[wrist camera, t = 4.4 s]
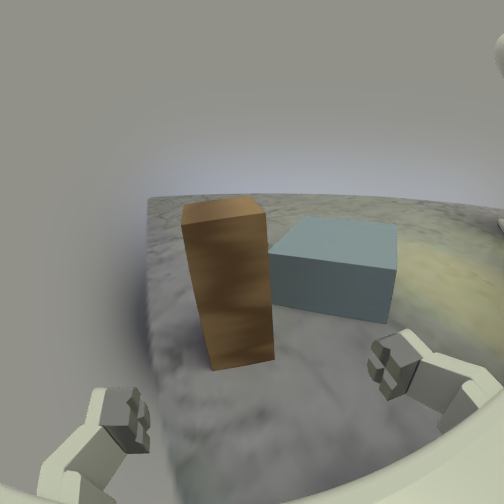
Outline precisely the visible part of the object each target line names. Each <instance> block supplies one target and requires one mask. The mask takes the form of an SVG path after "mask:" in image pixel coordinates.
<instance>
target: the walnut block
mask: <svg viewBox="0 0 504 504" xmlns="http://www.w3.org/2000/svg"><path fill="white" fill-rule="evenodd" d="M181 228H182V233H183V239H184V244H185V250H186V255H187V260H188V265H189V270H190V275H191V280H192V285H193V290H194V294H195V299H196V303H197V308H198V312H199V317H200V321H201V325H202V330H203V334H204V338H205V342H206V346H207V350H208V354H209V358H210V362H211V366H212V369H213V371H215V370H221V369H227V368H233V367H239V366H244V365H250V364H255V363H260V362H265V361H269V360H274V359H275V357H274V339H273V321H272V304H271V287H270V272H269V256H268V242H267V227H266V214H265V212H264V211H263V209H262V208H261V207H260V206H259V205H258V204H257V203H256V202H255V201H254V200H253V198H252V197H251V196H242V197H235V198H227V199H220V200H213V201H206V202H200V203H193V204H187V205H184V207H183V214H182V222H181Z"/></svg>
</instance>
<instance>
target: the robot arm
mask: <svg viewBox="0 0 504 504" xmlns="http://www.w3.org/2000/svg"><path fill="white" fill-rule="evenodd" d="M495 60H496V63H497V66H498V69H499V71H500V73H501V75H502V76H503V78H504V35H502V36H500V37H499V39H498V40H497V42H496V45H495ZM498 224H499V226H500V228H501V229H502V231H503V233H504V219H499V220H498ZM371 350H372V351H373V353H372V354H371V355H370V357H369V358H368V363H367V366H368V372H369V374H370V377H371V378H372V380H373V381H375V382H377V383H380V385H379V390H380V391H381V393H382V394H383V395H384V397H385V398H386V400H387V401H389V400H392V399H394V398H397V397H399V396H401V395H403V394H406V395H408V396H410V397H411V398H413V399H415V400H417V401H419V402H421V403H423V404H425V405H426V406H428V407H430V408H432V409H434V410H436V411H438V412H440V413H442V414H444V415H443V416H442V418H441V419H440V421H439V422H438V425H437V427H438V428H439V430H440V431H441V433H442V434H443V435H441V436H440V437H438V438H437V439H435V440H433V441H432V442H430V443H429V444H427V445H425V446H424V447H422V448H420V449H418V450H417V451H415V452H413V453H411V454H409V455H408V456H406V457H404V458H402V459H400V460H398V461H396V462H394V463H392V464H390V465H388V466H386V467H384V468H382V469H379V470H377V471H375V472H373V473H371V474H368V475H366V476H364V477H361V478H359V479H356V480H354V481H351V482H349V483H346V484H343V485H341V486H338V487H335V488H332V489H329V490H326V491H323V492H320V493H317V494H314V495H310V496H307V497H303V498H300V499H296V500H292V501H288V502H284V503H280V504H504V387H503V386H502V385H501V384H500V383H499V382H498V381H497V380H496V379H495V378H494V377H493V376H492V375H491V374H490V373H489V372H488V371H487V370H486V369H485V368H483V367H480V366H477V365H474V364H471V363H468V362H465V361H461V360H458V359H455V358H452V357H449V356H446V355H443V354H440V353H437V352H436V353H433V352H432V351H431V350H430V349H429V348H428V347H427V346H426V345H425V344H424V343H423V342H422V341H421V340H420V339H419V338H418V337H417V336H416V335H415V334H414V333H413V332H412V331H411V330H409V329H405V330H403V331H400V332H397V333H394V334H392V335H389V336H386V337H383V338H380V339H378V340H375V341H374V342H373V343H372V346H371ZM149 428H150V414H149V410H148V407H147V405H146V403H145V402H144V401H142V400H141V399H140V392H139V391H138V389H137V388H135V387H132V388H131V387H128V388H95V389H94V390H93V391H92V395H91V399H90V403H89V407H88V411H87V416H86V420H85V425H81V426H79V427H78V428H77V429H76V430H75V432H73V433H72V434H71V435H70V436H69V437H68V438H67V439H66V440H65V441H64V442H63V444H62V445H61V446H60V447H59V448H58V449H57V450H56V451H55V452H54V453H53V454H52V455H51V456H50V457H49V458H48V459H47V460H46V461H45V462H44V463H43V464H42V467H41V472H40V477H39V482H38V487H37V493H36V495H33V494H29V493H27V492H24V491H21V490H18V489H15V488H13V487H10V486H7V485H5V484H3V483H0V504H116V501H115V500H114V499H113V498H112V497H111V496H109V495H108V494H106V493H105V492H103V490H104V489H105V487H106V486H107V484H108V483H109V481H110V480H111V478H112V477H113V475H114V474H115V472H116V471H117V469H118V468H119V466H120V465H121V463H122V462H123V460H124V458H125V457H126V456H127V455H126V454H143V453H149V448H150V437H149V436H148V434H147V433H146V431H147V430H148V429H149Z"/></svg>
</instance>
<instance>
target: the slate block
mask: <svg viewBox="0 0 504 504" xmlns="http://www.w3.org/2000/svg"><path fill="white" fill-rule="evenodd" d="M268 256H269V272H270V287H271V304H275V305H280V306H285V307H290V308H296V309H301V310H306V311H312V312H317V313H323V314H328V315H334V316H340V317H346V318H352V319H358V320H364V321H371V322H377V323H384V324H386V323H387V319H388V314H389V310H390V305H391V300H392V294H393V289H394V283H395V277H396V271H397V224H390V223H381V222H371V221H362V220H351V219H341V218H330V217H319V216H306V215H304V216H303V217H302V218H301V219H300V220H299V221H298V222H297V223H296V224H295V225H294V226H293V227H292V228H291V229H290V230H289V231H288V232H287V233H286V234H285V235H284V236H283V237H282V238H281V239H280V240H279V241H278V242H277V243H276V244H275V245H274V246H273V247H272V248H271V249H270V250H269V251H268Z"/></svg>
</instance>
